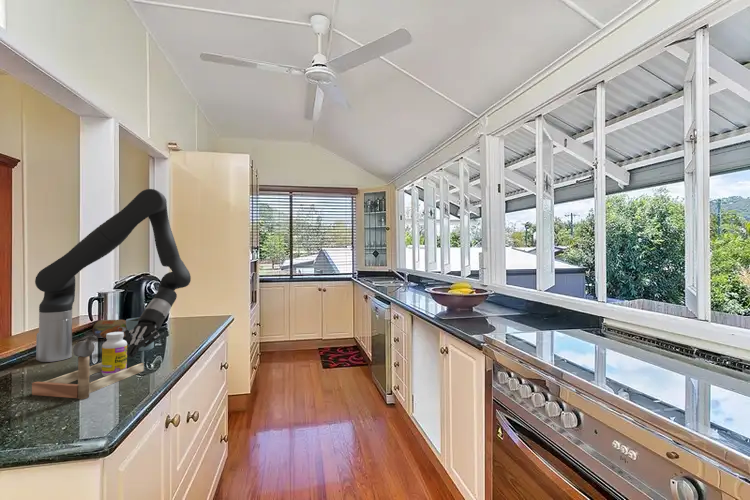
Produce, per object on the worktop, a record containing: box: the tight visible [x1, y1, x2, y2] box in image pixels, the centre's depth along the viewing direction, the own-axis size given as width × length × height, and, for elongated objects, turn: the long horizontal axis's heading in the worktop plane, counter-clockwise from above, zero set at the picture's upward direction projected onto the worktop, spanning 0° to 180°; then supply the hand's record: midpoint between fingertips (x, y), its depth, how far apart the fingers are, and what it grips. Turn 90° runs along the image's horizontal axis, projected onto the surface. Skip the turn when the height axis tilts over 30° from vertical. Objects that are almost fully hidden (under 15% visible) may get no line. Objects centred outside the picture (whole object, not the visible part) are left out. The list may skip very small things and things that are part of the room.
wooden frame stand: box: [31, 335, 145, 400], centre depth 114 cm, size 25×19×16 cm
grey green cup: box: [125, 316, 155, 352], centre depth 154 cm, size 10×10×12 cm
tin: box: [92, 319, 127, 339], centre depth 171 cm, size 15×3×8 cm, turn 91°
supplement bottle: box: [101, 332, 128, 377], centre depth 123 cm, size 7×7×13 cm
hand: (128, 356), depth 128 cm, fingers closed
